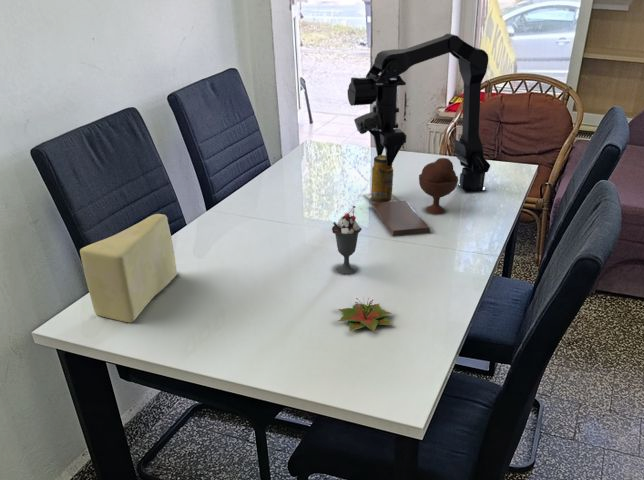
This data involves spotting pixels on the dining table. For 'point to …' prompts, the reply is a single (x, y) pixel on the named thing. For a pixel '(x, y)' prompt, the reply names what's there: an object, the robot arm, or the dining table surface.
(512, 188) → the dining table surface
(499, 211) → the dining table surface
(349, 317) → the lily flower
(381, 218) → the walnut board
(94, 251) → the cheese
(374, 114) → the robot arm
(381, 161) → the condiment
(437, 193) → the ice cream bowl
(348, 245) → the sundae
